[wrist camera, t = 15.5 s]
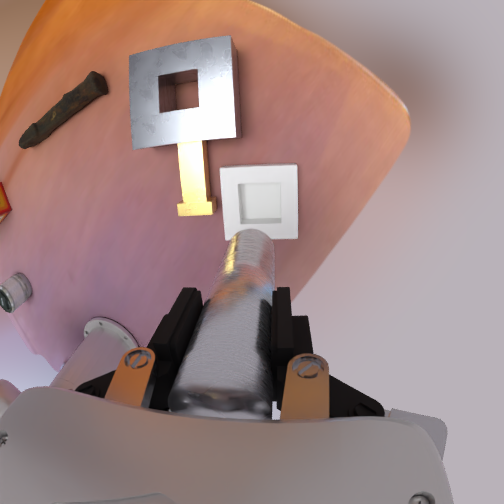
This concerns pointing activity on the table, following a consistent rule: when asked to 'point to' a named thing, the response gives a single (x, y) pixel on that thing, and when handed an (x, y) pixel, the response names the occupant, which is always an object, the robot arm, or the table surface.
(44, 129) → the hand tool
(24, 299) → the camera lens
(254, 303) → the grey cylindrical peg
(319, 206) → the table surface
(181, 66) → the socket
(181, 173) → the key
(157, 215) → the table surface
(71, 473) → the robot arm
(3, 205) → the baking soda box
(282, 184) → the tray
